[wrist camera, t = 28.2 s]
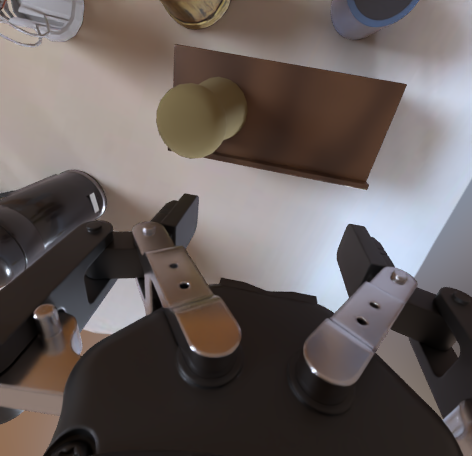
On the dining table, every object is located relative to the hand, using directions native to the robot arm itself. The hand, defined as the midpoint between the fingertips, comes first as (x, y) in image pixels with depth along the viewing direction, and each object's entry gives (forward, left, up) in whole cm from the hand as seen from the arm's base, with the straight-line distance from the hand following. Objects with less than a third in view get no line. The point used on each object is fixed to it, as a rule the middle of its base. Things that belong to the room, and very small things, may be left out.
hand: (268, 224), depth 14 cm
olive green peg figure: (-7, +3, -17) cm, 19 cm away
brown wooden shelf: (-1, +3, -27) cm, 27 cm away
